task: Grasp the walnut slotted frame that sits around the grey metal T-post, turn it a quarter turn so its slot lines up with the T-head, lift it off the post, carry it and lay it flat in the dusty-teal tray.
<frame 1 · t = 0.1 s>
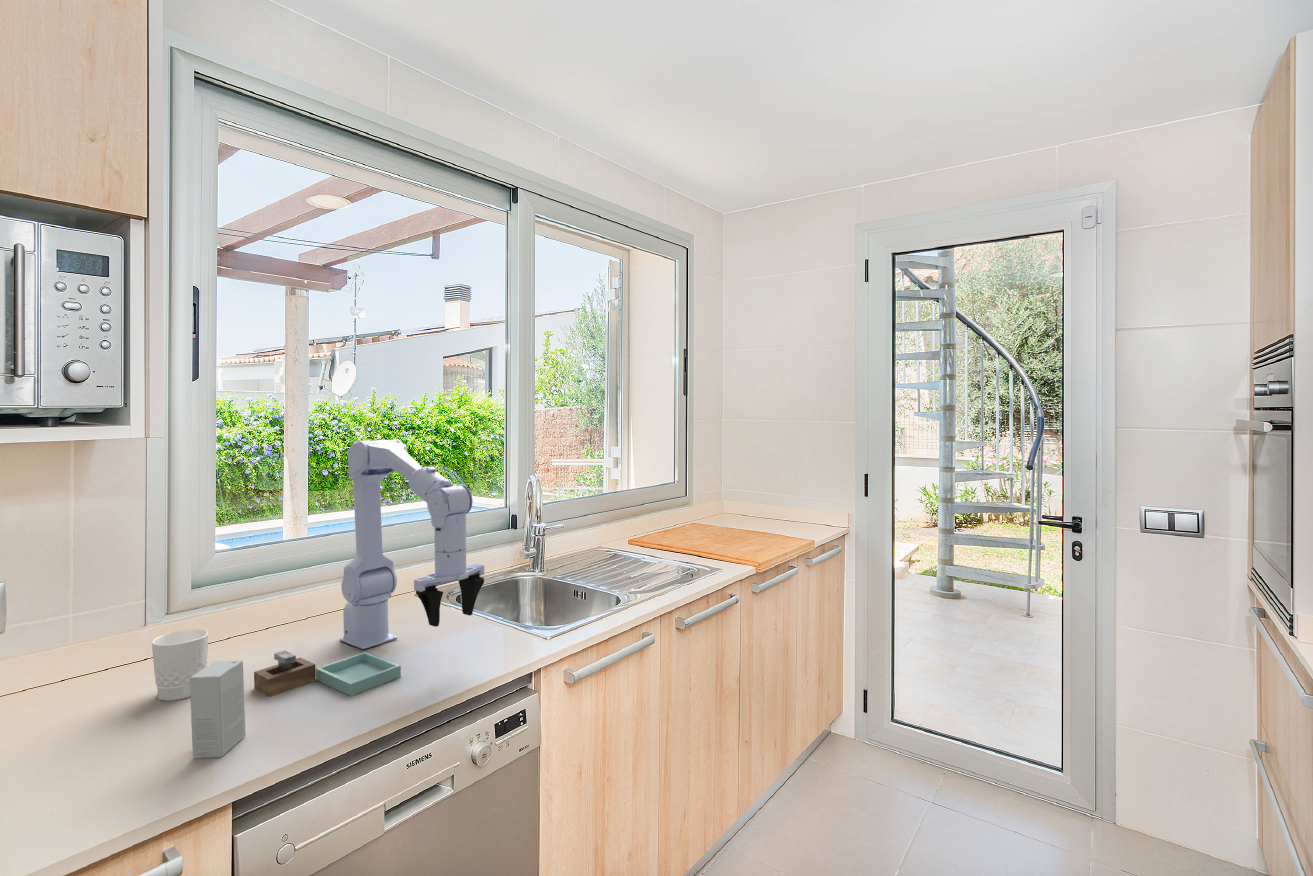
hand: (451, 619, 119), 10 cm above the worktop, fingers open, 7 cm apart
tray: (358, 678, 116), on the worktop
t post: (285, 684, 113), on the worktop
white cup: (182, 693, 110), on the worktop
skincare box: (219, 749, 92), on the worktop
frame ring: (285, 684, 113), on the worktop
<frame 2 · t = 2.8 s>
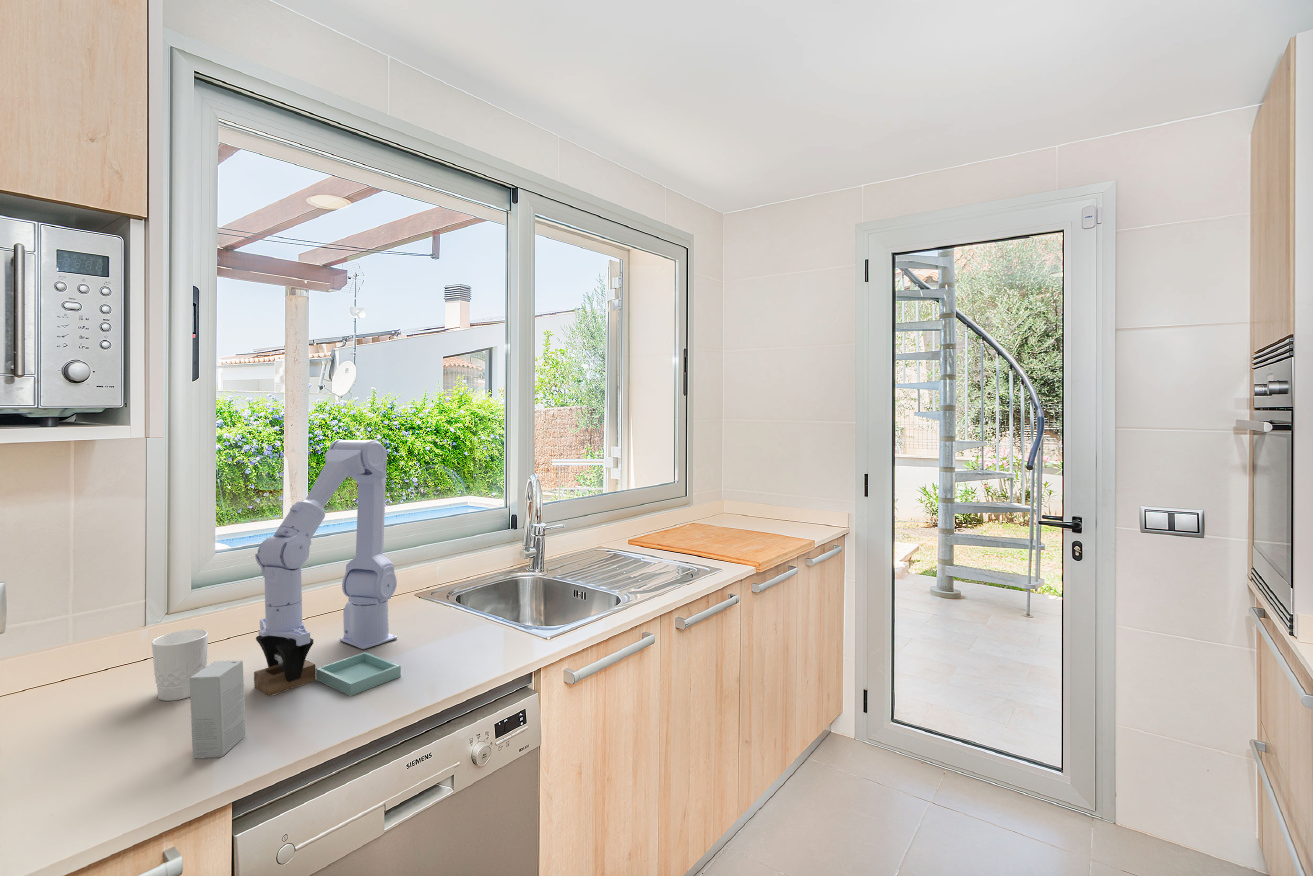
hand: (285, 675, 113), 2 cm above the worktop, fingers closed on frame ring, 6 cm apart
frame ring: (285, 684, 113), on the worktop, touching gripper
everything else where it was.
when the fingers open (3 cm above the worktop, at t = 7.6 s): frame ring drops 1 cm, resting on tray.
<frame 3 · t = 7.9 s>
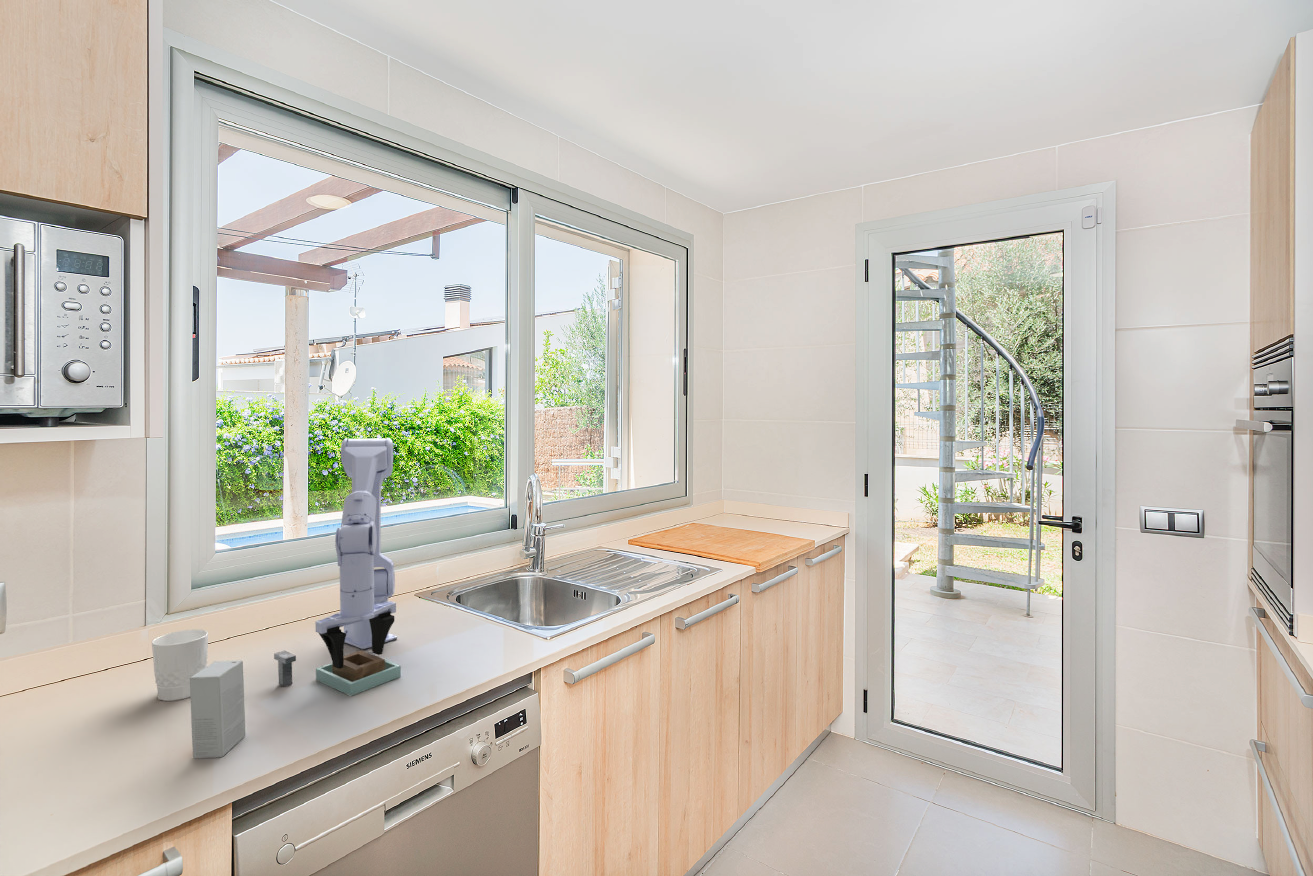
hand: (358, 660, 116), 3 cm above the worktop, fingers open, 7 cm apart
frame ring: (358, 675, 116), resting on tray
everything else where it was.
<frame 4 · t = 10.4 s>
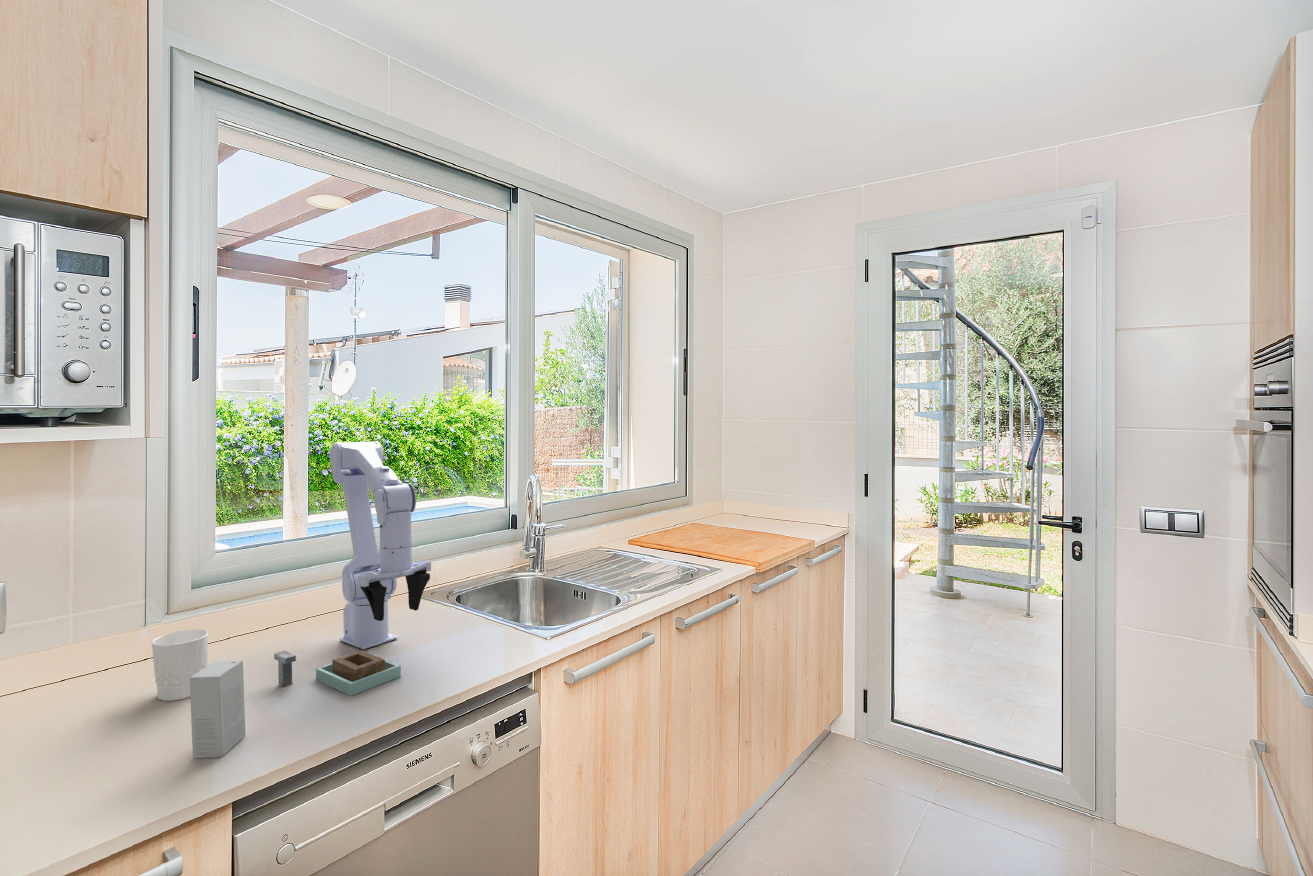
hand: (396, 614, 122), 10 cm above the worktop, fingers open, 7 cm apart
nothing on the worktop moved.
at the end: frame ring inside the target area on the tray (0.0 cm from its centre), point 0.5 cm above the tray's base; frame ring tilted 0°; the gripper is holding nothing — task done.
